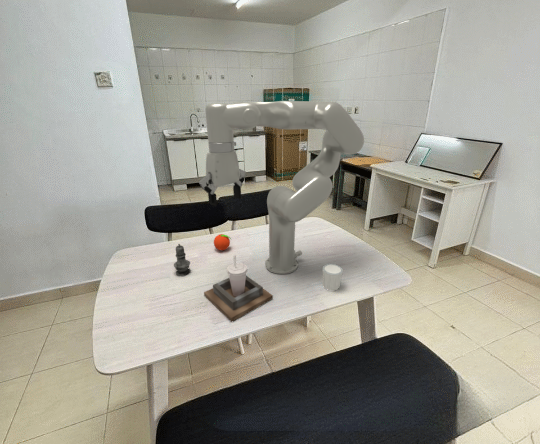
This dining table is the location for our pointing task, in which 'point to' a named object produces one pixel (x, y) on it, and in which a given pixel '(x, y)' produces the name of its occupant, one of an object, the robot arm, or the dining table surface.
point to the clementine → (222, 242)
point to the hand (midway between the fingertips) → (225, 201)
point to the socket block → (237, 298)
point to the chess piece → (181, 262)
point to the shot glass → (332, 276)
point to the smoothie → (237, 277)
